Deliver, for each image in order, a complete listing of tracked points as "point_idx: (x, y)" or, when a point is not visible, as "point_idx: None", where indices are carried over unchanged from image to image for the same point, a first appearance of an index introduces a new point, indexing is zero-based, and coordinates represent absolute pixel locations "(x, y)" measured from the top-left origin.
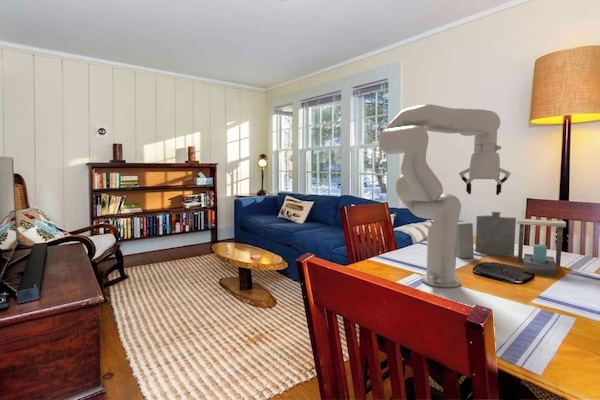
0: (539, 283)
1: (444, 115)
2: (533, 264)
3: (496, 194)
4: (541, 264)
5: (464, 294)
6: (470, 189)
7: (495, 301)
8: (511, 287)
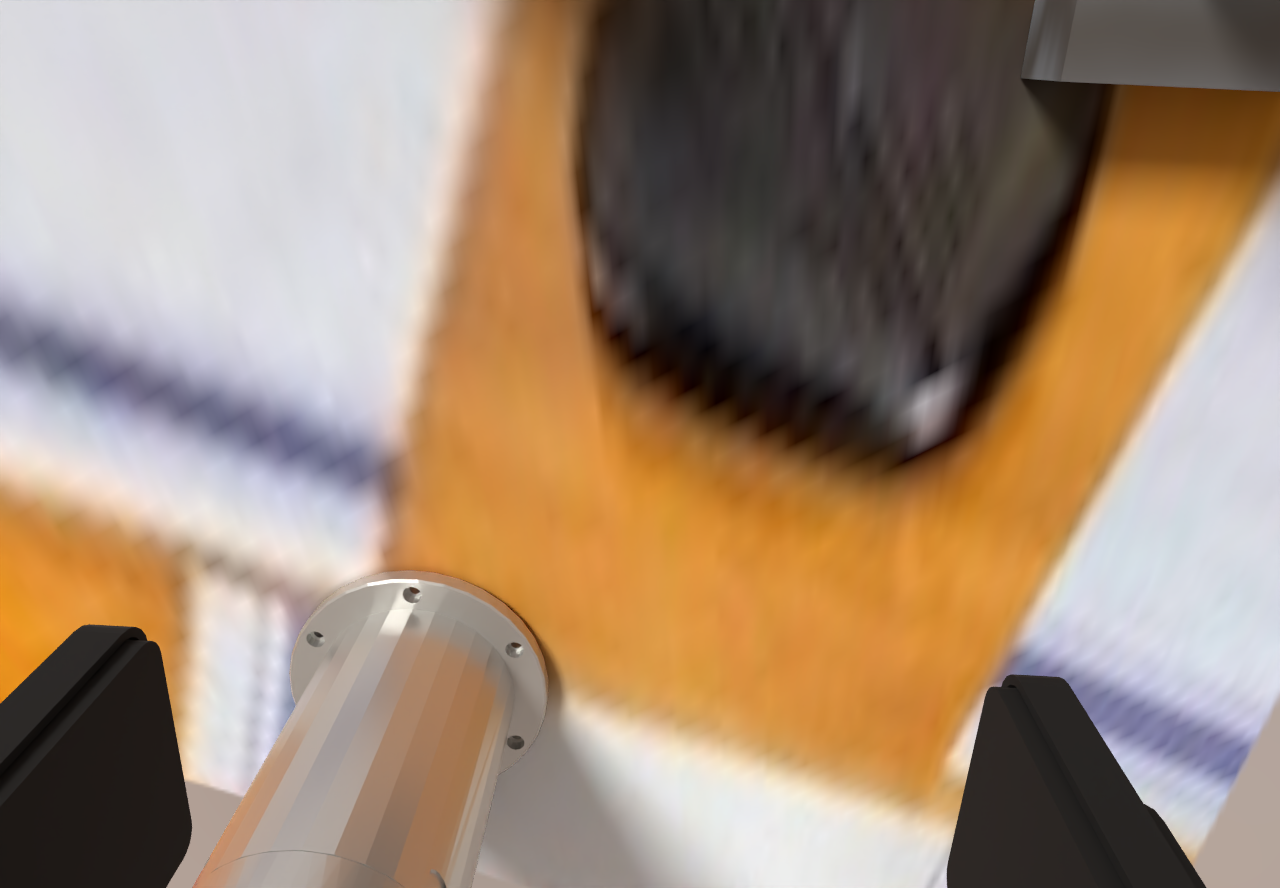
0: (1085, 377)
1: None
2: (1149, 84)
3: (955, 878)
4: (1228, 86)
5: (600, 813)
6: (99, 876)
7: (763, 839)
8: (868, 570)
